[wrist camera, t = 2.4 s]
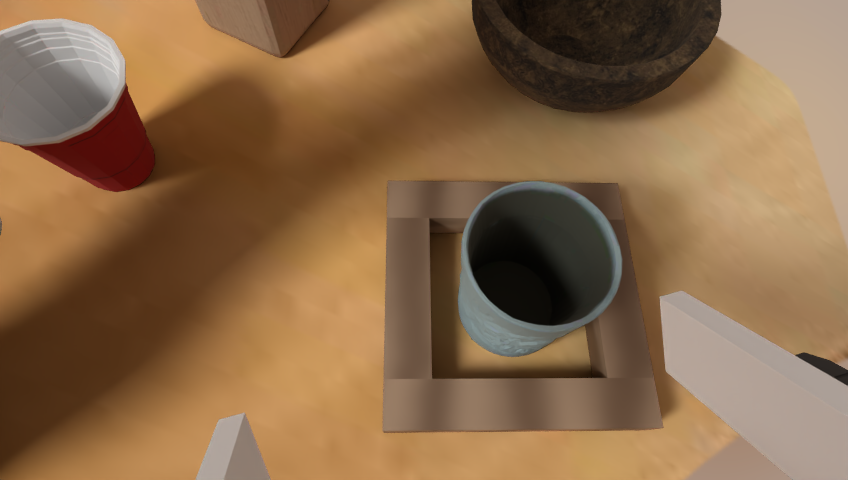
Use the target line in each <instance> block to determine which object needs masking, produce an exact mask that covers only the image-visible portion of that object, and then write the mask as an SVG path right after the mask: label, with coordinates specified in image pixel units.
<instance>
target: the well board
mask: <svg viewBox="0 0 848 480" xmlns="http://www.w3.org/2000/svg"><path fill="white" fill-rule="evenodd" d="M515 183H519V182H456V181H388V190H387V240H386V290H385V340H384V389H383V432H384V433H407V432H509V431H611V430H651V429H659V428H663V423H662V418H661V412H660V407H659V402H658V396H657V391H656V385H655V380H654V375H653V369H652V364H651V359H650V353H649V348H648V343H647V337H646V332H645V327H644V321H643V316H642V311H641V305H640V300H639V295H638V289H637V284H636V278H635V273H634V268H633V262H632V257H631V252H630V246H629V241H628V236H627V230H626V225H625V220H624V214H623V209H622V204H621V198H620V193H619V188H618V183H554V184H558V185H561V186H565V187H567V188H569V189H571V190H574V191H575V192H577V193H579V194H581V195H582V196H584V197H586V198H587V199H588V200H589V201H590V202H592V203H593V204H594V205H595V206H596V207H597V208H598V209H599V210H600V211H601V212H602V213H603V214H604V215H605V217H606V218H607V220H608V221H609V222H610V224H611V226H612V228H613V230H614V232H615V234H616V237H617V240H618V243H619V246H620V249H621V255H622V276H621V280H620V285H619V287H618V290H617V293H616V295H615V296H614V298H613V300H612V302H611V303H610V304H609V306H608V307H607V308H606V309H605V310H604V312H603V313H601V314H600V315H599V316H598V317H597V318H596V319H594V320H593V321H591V322H589V323H587V324H585V327H586V334H587V341H588V348H589V355H590V363H591V370H592V377H593V378H507V379H432V353H431V293H430V234H429V233H463V232H464V229H465V226H466V223H467V221H468V219H469V217H470V215H471V214H472V212H473V210H474V209H475V208H476V207H477V205H478V204H479V203H480V202H481V201H482V200H483V199H484V198H486V197H487V196H488V195H490V194H491V193H493V192H494V191H496V190H498V189H500V188H502V187H505V186H508V185H511V184H515Z"/></svg>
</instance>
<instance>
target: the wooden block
mask: <svg viewBox="0 0 848 480" xmlns="http://www.w3.org/2000/svg"><path fill="white" fill-rule="evenodd" d="M195 1H196V3H197V6H198V8H199V10H200V12H201V14H202V17H203V19H204V20H205V21H206V22H207V24H209V25H210V26H211V27H213V28H215V29H217V30H219V31H221V32H224V33H226V34H228V35H230V36H232V37H235V38H237V39H239V40H241V41H243V42H245V43H248V44H250V45H252V46H254V47H256V48H259V49H261V50H263V51H265V52H267V53H269V54H272V55H274V56H276V57H282V56H284V55H286V54H287V53H288V51H289V50H290V49H291V48H292V47H293V45H294V44H295V43H296V42H297V41H298V40H299V38H300V37H301V36H302V35H303V34H304V32H305V31H306V30H307V29H308V28H309V26H310V25H311V24H312V23H313V22H314V20H315V19H316V18H317V17H318V16H319V15H320V13H321V12H322V11H323V10H324V9H325V7H326V6H327V5H328V2H329V0H195Z"/></svg>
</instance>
